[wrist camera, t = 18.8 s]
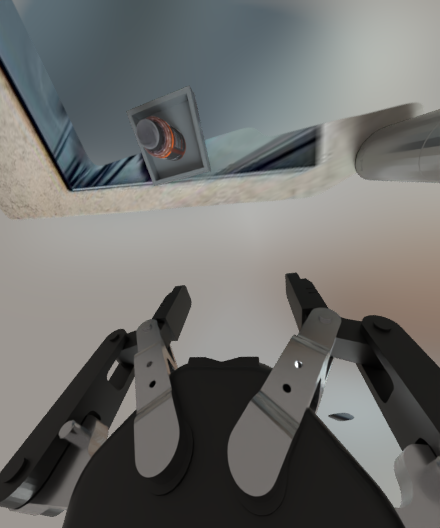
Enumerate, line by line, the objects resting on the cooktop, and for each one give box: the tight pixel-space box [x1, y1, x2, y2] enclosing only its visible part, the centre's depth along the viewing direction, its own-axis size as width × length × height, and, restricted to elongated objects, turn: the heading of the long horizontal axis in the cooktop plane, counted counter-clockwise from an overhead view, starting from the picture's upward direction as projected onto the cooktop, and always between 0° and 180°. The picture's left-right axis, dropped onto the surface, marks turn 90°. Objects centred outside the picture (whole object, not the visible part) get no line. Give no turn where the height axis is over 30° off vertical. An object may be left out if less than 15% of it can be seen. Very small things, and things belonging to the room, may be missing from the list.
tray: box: [126, 86, 211, 186], centre depth 35 cm, size 14×14×4 cm
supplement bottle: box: [136, 116, 186, 161], centre depth 31 cm, size 6×6×11 cm
